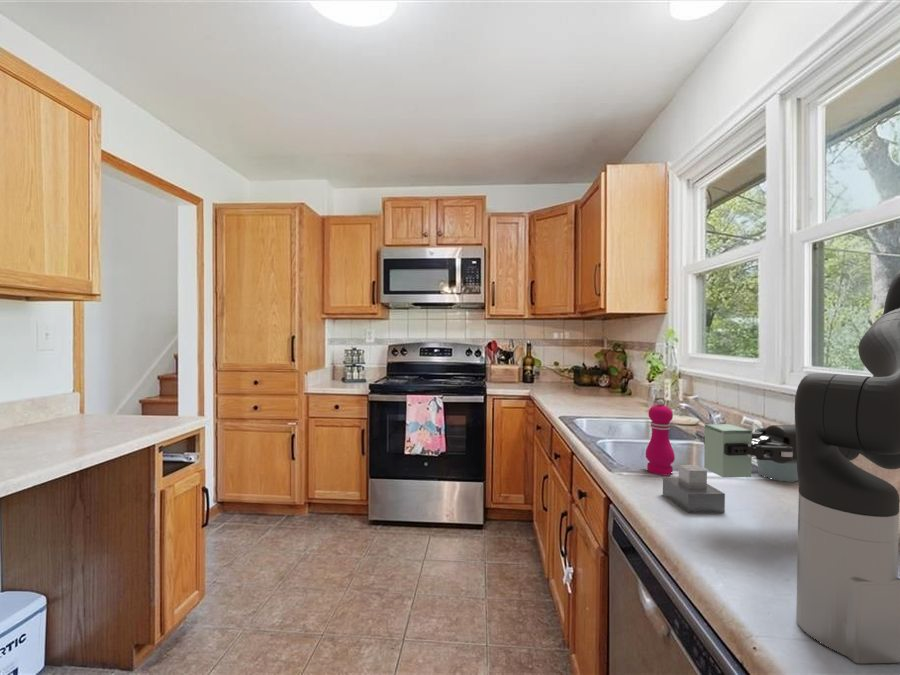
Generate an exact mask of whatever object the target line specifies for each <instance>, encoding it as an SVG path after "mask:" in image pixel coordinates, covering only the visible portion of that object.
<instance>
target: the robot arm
mask: <svg viewBox="0 0 900 675" xmlns="http://www.w3.org/2000/svg"><path fill="white" fill-rule="evenodd" d="M882 313H883V314H882V315H881V316H880V317H878V318H877V319H876V320H875V321H874V322H873V324H871V326H870V327H869V328H868V329H867V330H866V332H865V333H864V335H863V336H862V337H861V339H860V341H859V344H858V348H857V349H858V355H859V359H860V361H861V363H862V364H863V366H864V367H865V369H867V371H868V372H869V373H870V374H871V375H872V376H868V375H852V374H839V373H829V372H828V373H826V372H825V373H823V372H822V373H821V372H815V373H813V372H812V373H809V374H807V375H805V376H804V377H803V378H802V379H801V380H800V382H799V383H798V386H797V389H796V393H795V398H794V424H773V425H769V426H767V427H766V429H765V430H764V431H763V433H762V434H761V433H756V432H755V431H754V432H753V431H752V443H746V445H745V444H744V443H726V444H725V445H724V453H725V454H726V455H728V456H738V455H745V454H746V456H748V457H752V458H753V457H755V459H756V460H757V459H758V460H772V461H774V462H776V463H779V464H797V473H798V510H797V511H798V514H797V516H798V518H797V556H796V557H797V558H796V560H797V561H796V612H795V614H796V616H795V617H796V622H797V624H798V626H799V627H800V629H801V630H802V631H803V632H804V633H805V632H806V633H805V634H806V635H808V634H809V635H810V636H811V637H810V636H809V635H808V636H809V637H810V638H812V637H813V638H814V639H813V638H812V639H813V640H815V639H816V640H817V641H816V640H815V641H816V642H818V641H819V642H821V643H822V644H821V643H820V644H821V645H823V644H824V645H825V647H826V646H827V647H826V648H828V647H829V648H828V649H830V648H831V649H830V650H832V649H833V650H832V651H834V650H835V651H834V652H836V651H837V653H839V652H840V653H839V654H841V655H843V656H845V657H847V658H849V659H850V660H851V661H852V662H854V663H855V664H890V663H891V664H894V663H895V664H896V663H897V664H898V663H900V578H899V575H898V574H899V538H900V537H899V535H900V534H899V532H900V531H899V530H900V528H899V527H900V495H899V493H898V490H897V488H896V487H895V486H894V485H892V484H891V483H890V482H888V481H886V480H884V479H883V478H880V477H879V476H876V475H874V474H872V473H871V472H868V471H866V470H865V469H862V468H861V467H859V466H857V465H856V464H854V463H853V462H851V461H853V460H855V459H857V458H858V457H859V455H861V456H863V457H864V458H866V459H867V460H868V461H870V462H871V463H873V464H875V465H876V466H878V467H880V468H883V469H885V470H899V469H900V269H899V270H898V271H897V272H896V274H895V275H894V276H893V279H892V281H891V283H890V285H889V288H888V291H887V293H886V298H885V302H884V306H883V312H882ZM704 444H705V435H704V436H703V445H704ZM819 642H818V643H819ZM824 645H823V646H824Z"/></svg>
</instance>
